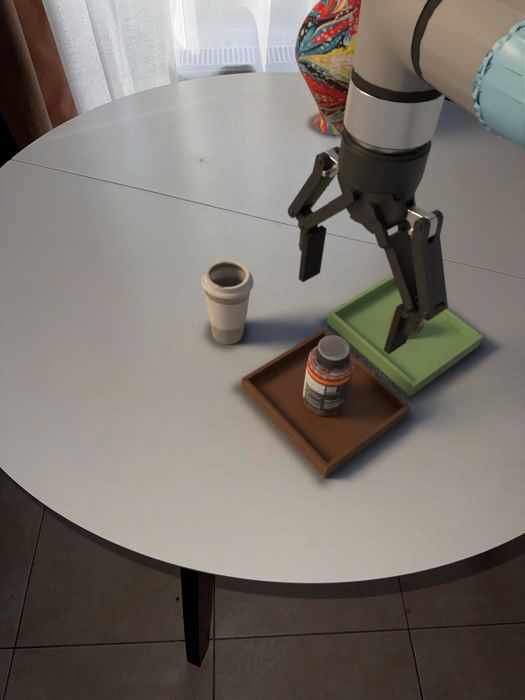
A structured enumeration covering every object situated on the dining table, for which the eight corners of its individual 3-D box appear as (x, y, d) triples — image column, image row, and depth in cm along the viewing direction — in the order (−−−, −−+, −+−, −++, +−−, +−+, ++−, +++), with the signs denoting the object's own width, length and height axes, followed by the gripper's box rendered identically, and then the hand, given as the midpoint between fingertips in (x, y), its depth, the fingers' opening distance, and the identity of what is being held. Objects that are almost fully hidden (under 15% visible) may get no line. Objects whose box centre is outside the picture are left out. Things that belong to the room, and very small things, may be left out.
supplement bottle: (328, 375, 82) (340, 321, 73) (354, 406, 79) (369, 354, 70) (293, 392, 80) (300, 339, 71) (317, 425, 76) (329, 373, 68)
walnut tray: (407, 416, 79) (411, 406, 77) (324, 478, 72) (327, 469, 70) (322, 339, 87) (324, 328, 85) (241, 388, 80) (241, 378, 79)
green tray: (478, 346, 87) (483, 336, 85) (410, 396, 81) (414, 386, 79) (394, 282, 95) (397, 271, 94) (326, 322, 89) (328, 312, 87)
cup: (197, 343, 85) (193, 284, 76) (212, 312, 89) (210, 252, 80) (244, 354, 84) (245, 296, 75) (256, 322, 88) (259, 263, 79)
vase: (284, 143, 121) (296, -19, 98) (293, 99, 133) (306, -54, 110) (375, 153, 120) (409, -9, 97) (376, 108, 132) (406, -45, 109)
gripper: (542, 186, 44) (459, 363, 60) (320, 64, 56) (301, 238, 72) (480, 223, 41) (411, 399, 57) (259, 85, 53) (254, 262, 69)
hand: (349, 309), depth 64 cm, fingers open, 13 cm apart
